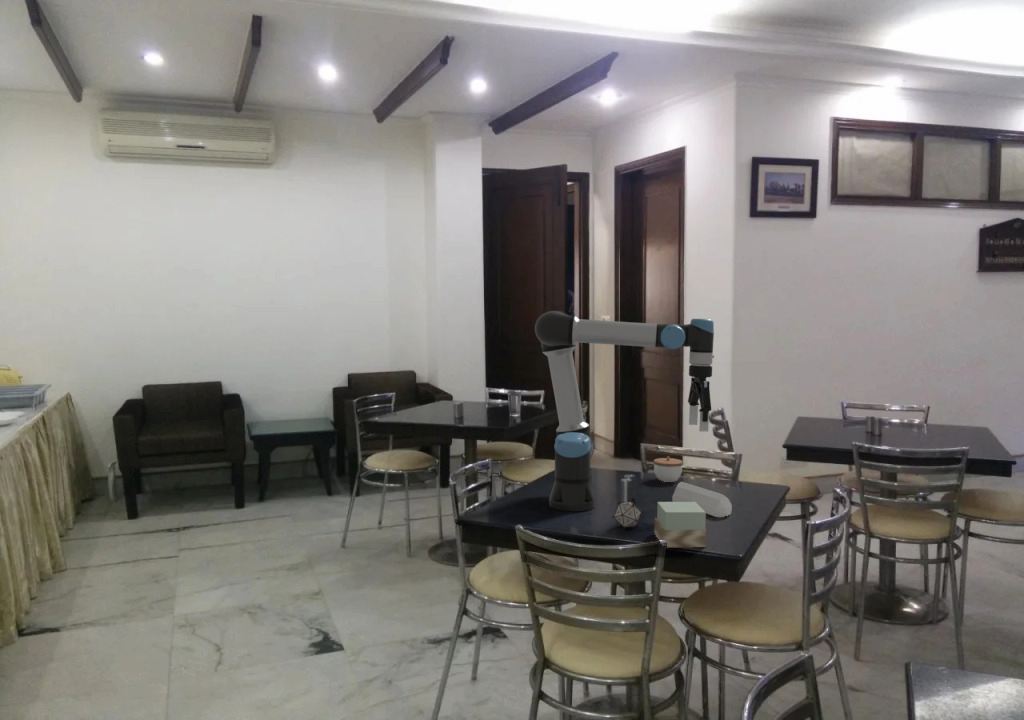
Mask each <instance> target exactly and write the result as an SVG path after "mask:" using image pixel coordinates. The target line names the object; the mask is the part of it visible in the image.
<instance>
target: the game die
mask: <svg viewBox="0 0 1024 720" xmlns="http://www.w3.org/2000/svg"><path fill="white" fill-rule="evenodd" d="M617 503H618V506H617V508H616V510H615V513H614V515H612V516H611V519H615V520H616V521H617V522H618V523H619V524H620V525H621V526H622V527H623V528H622V529H624V530H626V528H629V527H634V526H635V528H637V527H638V525H637V524H638V522H639V519H640V517H641V515H642V513H645V511H643V510H640V509H639V508H638V507H637V506H636V504H635V503H633V499H630V501H627V502H626V501H625V502H620V501H617Z"/></svg>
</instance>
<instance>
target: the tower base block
mask: <svg viewBox="0 0 1024 720" xmlns="http://www.w3.org/2000/svg"><path fill="white" fill-rule="evenodd" d="M653 529H654V530H653V531H654V533H655V534H654V536H655V535H656V536H655V538H656V537H657V538H658V539H659V540H666V542H667V547H666V548H693V547H706V548H707V530H706V529H705V530H665V529H664V528H663V526H662V525H661V524H660V522H659V521H658V519H657V517H654V528H653ZM657 538H656V539H657ZM658 539H657V540H658Z"/></svg>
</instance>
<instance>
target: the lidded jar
mask: <svg viewBox="0 0 1024 720" xmlns="http://www.w3.org/2000/svg"><path fill="white" fill-rule="evenodd" d="M653 470H654V474H655V477H656V478H657V479H658V480H659V481H660V480H661V481H664V482H663V483H665V482H674V481H676V482H677V481H678V480H679V479H680V477H681V476H682V473H683V472H682V471H683V461H682V460H681V459H677V458H674V457H673V458H672V457H670V456H666V458H665V457H660V458H655V459H654V460H653ZM661 481H660V482H661ZM674 483H675V482H674Z"/></svg>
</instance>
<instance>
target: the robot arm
mask: <svg viewBox="0 0 1024 720" xmlns="http://www.w3.org/2000/svg"><path fill="white" fill-rule="evenodd" d="M714 325H715V324H714V320H713V319H709V318H691V320H690V323H689V324H688V323H687V324H680V323H646V322H628V321H613V320H612V321H610V320H597V319H580V318H578V316H576V315H570V314H569V315H568V314H566V313H565V312H564V311H561V310H550V311H546V312H544V313H543V314H541V315H540V316H538V318H537V320H536V322H535V326H534V333H535V335H536V338H537V339H538V340H539V341H540V345H541V350H542V354H544V356H546V357H547V361H548V367H549V372H550V377H551V383H552V388H553V395H554V399H555V400H554V401H555V406H556V411H557V412H556V413H557V417H558V423H559V425H558V426H557V428H556V429H555V431H556V437H555V439H554V441H555V442H554V446H553V447H554V482H553V487H552V488H551V491H550V494H549V495H550V496H549V498H548V506H549V507H550V508H552V509H553V510H557V511H563V512H584V511H589V510H592V509H594V508H595V507H596V499H595V496H594V492H593V489H592V488H593V487H592V486H591V459H592V457H593V455H594V453H595V452H594V451H595V442H594V440H593V438H592V432H591V428H590V424H589V423H588V422H586V421H585V419H584V414H583V407H582V402H581V396H580V391H579V385H578V379H577V373H576V367H575V366H576V365H575V362H574V361H575V360H574V354H573V352H574V350H575V349H576V347H577V346H576V344H577V343H581V344H582V343H584V344H601V345H615V346H616V345H617V346H631V347H649V348H659V349H660V348H662V349H668V350H677V349H679V348H682V347H685V348H689V353H688V354H689V357H688V358H689V361H688V363H689V367H688V375H689V377H691V378H690V388H689V394H688V399H687V403H688V404H689V414H688V417H689V418H688V425H690V426H693V425H695V426H697V425H698V417H699V430H698V431H699V432H705V433H706V432H709V423H710V422H709V420H710V412H711V411H712V402H711V393H710V392H711V391H710V381H707V378H712V375H713V366H712V365H713V359H714V358H715V355H714V354H713V352H714V335H715V331H714V329H715V328H714ZM699 406H700V408H699ZM698 413H699V414H698Z"/></svg>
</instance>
